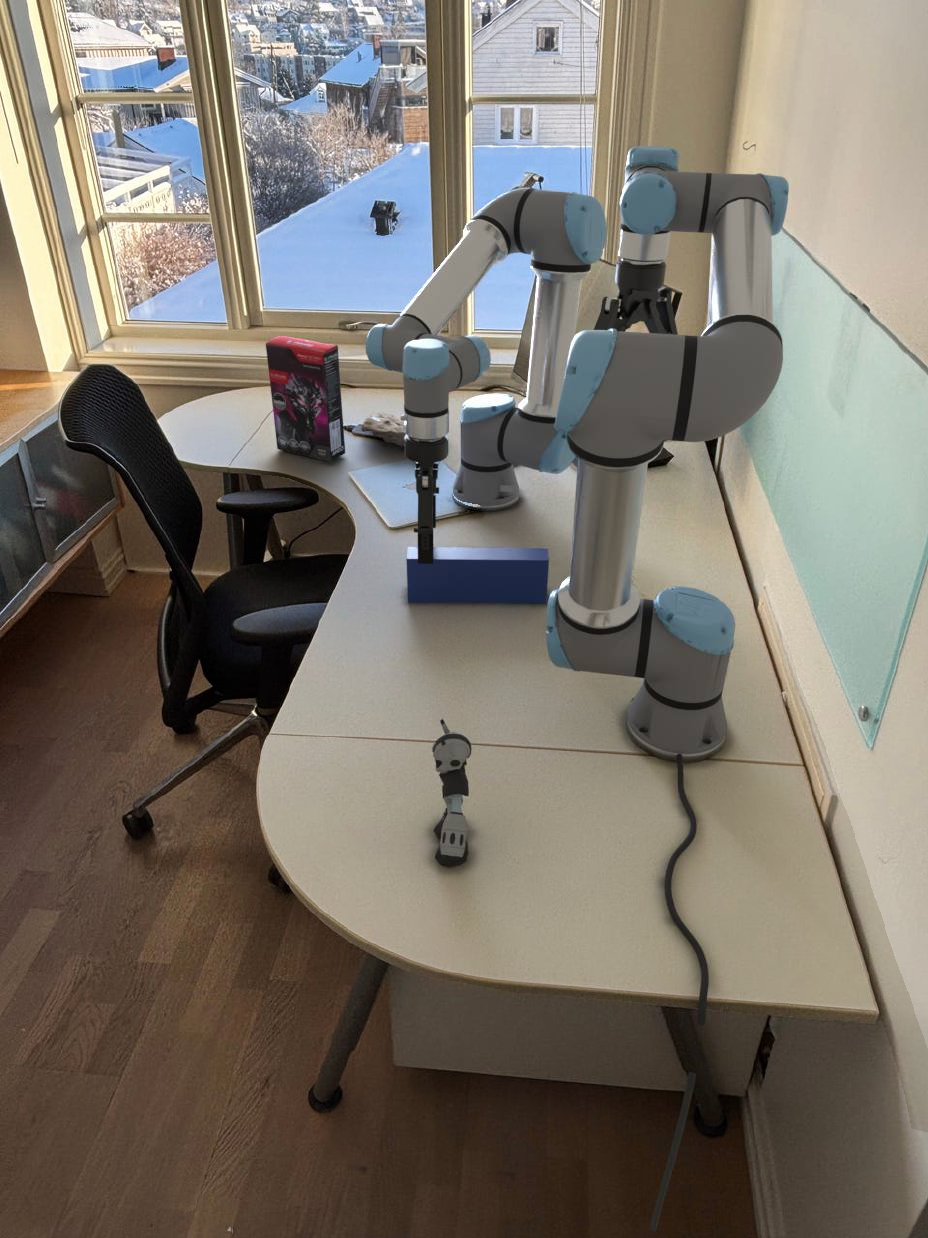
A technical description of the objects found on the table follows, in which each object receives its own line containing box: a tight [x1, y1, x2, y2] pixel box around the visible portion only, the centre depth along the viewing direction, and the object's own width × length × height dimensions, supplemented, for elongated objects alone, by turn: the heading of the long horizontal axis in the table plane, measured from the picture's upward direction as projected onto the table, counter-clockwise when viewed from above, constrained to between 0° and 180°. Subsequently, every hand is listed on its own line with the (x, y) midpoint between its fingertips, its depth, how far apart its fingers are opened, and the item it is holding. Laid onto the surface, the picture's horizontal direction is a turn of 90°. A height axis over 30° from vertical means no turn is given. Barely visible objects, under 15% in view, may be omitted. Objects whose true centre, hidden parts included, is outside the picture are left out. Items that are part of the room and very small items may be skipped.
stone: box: [360, 412, 406, 448], centre depth 233 cm, size 21×15×6 cm
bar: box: [406, 546, 550, 605], centre depth 172 cm, size 26×4×9 cm, turn 90°
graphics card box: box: [265, 335, 346, 462], centre depth 222 cm, size 17×7×27 cm, turn 62°
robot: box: [431, 718, 473, 868], centre depth 118 cm, size 20×5×20 cm, turn 3°
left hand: (427, 544), depth 168 cm, fingers open, 13 cm apart
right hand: (626, 394), depth 153 cm, fingers open, 13 cm apart
